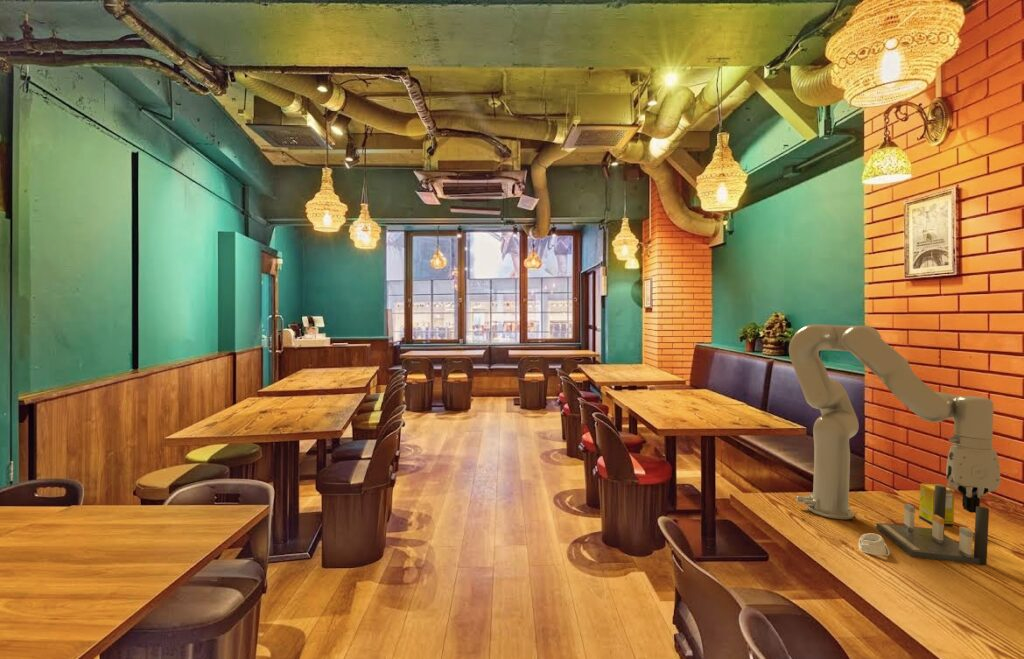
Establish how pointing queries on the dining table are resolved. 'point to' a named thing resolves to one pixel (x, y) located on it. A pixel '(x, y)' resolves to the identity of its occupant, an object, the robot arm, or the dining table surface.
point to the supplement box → (928, 504)
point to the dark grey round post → (980, 523)
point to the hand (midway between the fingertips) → (970, 510)
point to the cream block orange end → (937, 527)
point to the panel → (925, 544)
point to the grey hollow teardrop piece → (873, 544)
